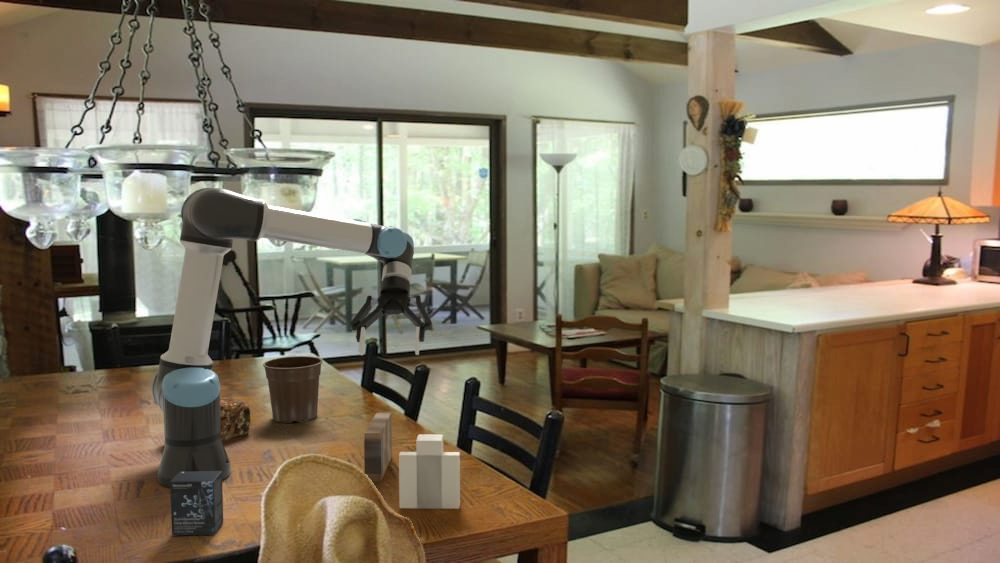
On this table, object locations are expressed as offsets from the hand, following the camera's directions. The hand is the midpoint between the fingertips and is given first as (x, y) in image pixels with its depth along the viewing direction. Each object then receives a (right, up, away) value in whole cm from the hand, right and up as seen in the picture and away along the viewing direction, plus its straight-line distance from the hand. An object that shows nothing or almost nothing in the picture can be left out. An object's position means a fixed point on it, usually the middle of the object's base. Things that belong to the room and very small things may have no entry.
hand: (388, 352), depth 187 cm
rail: (-1, -26, -10) cm, 28 cm away
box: (-30, -30, -43) cm, 60 cm away
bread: (-48, -24, +12) cm, 55 cm away
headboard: (+13, -28, -29) cm, 42 cm away
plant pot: (-31, -22, +31) cm, 49 cm away
